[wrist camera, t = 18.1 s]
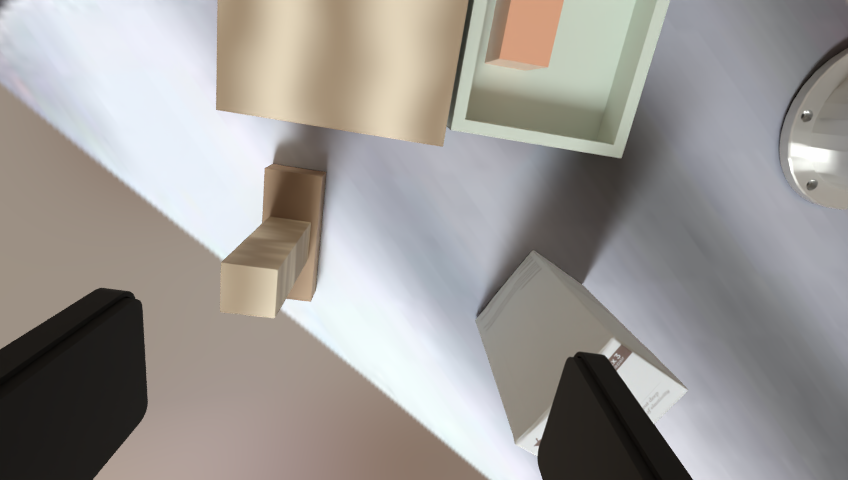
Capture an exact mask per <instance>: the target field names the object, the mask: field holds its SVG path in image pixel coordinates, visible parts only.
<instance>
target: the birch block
mask: <svg viewBox="0 0 848 480" xmlns="http://www.w3.org/2000/svg"><path fill="white" fill-rule="evenodd" d="M468 1H469V0H218V11H217V90H216V110H221V111H227V112H233V113H239V114H245V115H252V116H258V117H264V118H270V119H276V120H282V121H288V122H295V123H301V124H307V125H313V126H319V127H325V128H331V129H337V130H344V131H350V132H356V133H362V134H368V135H374V136H380V137H387V138H393V139H399V140H405V141H411V142H417V143H423V144H429V145H436V146H442V147H443V143H444V137H445V132H446V126H447V120H448V115H449V109H450V103H451V98H452V92H453V86H454V81H455V75H456V69H457V64H458V58H459V52H460V46H461V41H462V35H463V29H464V24H465V18H466V12H467V7H468Z"/></svg>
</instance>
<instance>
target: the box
mask: <svg viewBox="0 0 848 480" xmlns="http://www.w3.org/2000/svg"><path fill="white" fill-rule="evenodd" d="M669 2H670V0H564V2H563V6H562V11H561V15H560V19H559V23H558V28H557V32H556V36H555V40H554V45H553V49H552V53H551V57H550V62H549V66H548V68H541V69H534V70H528V71H524V70H519V69H513V68H508V67H502V66H496V65H491V64H485V63H484V62H485V57H486V52H487V47H488V41H489V36H490V31H491V26H492V21H493V15H494V10H495V5H496V0H469V1H468V7H467V12H466V18H465V24H464V29H463V35H462V41H461V46H460V52H459V58H458V64H457V69H456V75H455V81H454V86H453V92H452V98H451V103H450V109H449V115H448V120H447V127H448V128H449V129H450V130H454V131H460V132H466V133H472V134H478V135H484V136H490V137H496V138H502V139H508V140H514V141H520V142H526V143H532V144H538V145H544V146H550V147H556V148H562V149H568V150H574V151H580V152H586V153H592V154H598V155H604V156H610V157H616V158H622V155H623V152H624V148H625V145H626V142H627V139H628V135H629V132H630V129H631V126H632V122H633V119H634V116H635V113H636V109H637V106H638V103H639V100H640V96H641V93H642V90H643V87H644V83H645V80H646V77H647V74H648V70H649V67H650V64H651V61H652V57H653V54H654V51H655V47H656V44H657V41H658V38H659V34H660V31H661V28H662V25H663V21H664V18H665V15H666V12H667V8H668V5H669Z"/></svg>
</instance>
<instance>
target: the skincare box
mask: <svg viewBox="0 0 848 480" xmlns="http://www.w3.org/2000/svg"><path fill="white" fill-rule="evenodd" d="M475 321H476V324H477V328H478V330H479V333H480V336H481V339H482V342H483V345H484V348H485V351H486V354H487V357H488V360H489V363H490V366H491V369H492V373H493V375H494V378H495V382H496V385H497V388H498V391H499V394H500V397H501V400H502V403H503V406H504V409H505V412H506V415H507V418H508V421H509V424H510V427H511V431H512V433H513V437H514V442H515V444H516V445H517V446H519V447H521V448H523V449H525V450H527V451H528V452H530V453H531V454H533V455H535V456H537V457H538V449H539V445H540V442H541V439H542V435H543V432H544V429H545V426H546V423H547V419H548V416H549V413H550V410H551V407H552V403H553V400H554V397H555V394H556V391H557V387H558V384H559V381H560V378H561V375H562V371H563V368H564V365H565V362H566V360H567V358H568V357H574V355H575V354H576V353H577V352H579V351H580V352H588V353H595V354H602V355H605V356H606V357H607V358H608V360H609V361H610V362H611V364H612V365H613V367H614V368H615V370H616V371H617V372H618V374H619V375H620V377H621V378H622V380H623V381H624V382H625V384H626V385H627V387H628V388H629V389H630V391H631V392H632V394H633V395H634V397H635V398H636V399H637V401H638V402H639V404H640V405H641V407H642V408H643V409H644V411H645V412H646V414H647V415H648V416H649V418H650V419H651V421H652V422H653V424H655V423H656V422H657V421H658V420H659V419H660V418H661V417H662V416H663V415H664V414H665V413H666V412H667V411H668V410H669V409H670V408H671V407H672V406H673V405H674V404H675V403H676V402H677V401H678V400H679V399H680V398H681V397H682V396H683V395H684V394H685V393H686V392H687V391H688V389H687V388H686V387H685V386H684V385H683V384H682V382H681V381H680V380H679V379H678V378H677V377H676V376H675V375H674V374H673V373H672V372H671V371H670V370H669V369H668V368H667V367H665V366H664V365H663V364H662V363H661V362H660V360H659V359H658V358H657V357H656V356H655V355H654V354H653V353H652V352H651V351H650V350H649V349H648V348H647V347H646V346H644V345H643V344H642V343H641V342H640V341H639V340H638V339H637V338H636V337H635V336H634V335H633V334H632V333H631V332H630V331H629V330H628V329H627V328H626V327H625V326H624V325H623V324H622V323H621V322H620V321H619V320H618V319H617V318H616V317H615V316H614V315H613V314H612V313H611V312H610V311H609V310H608V309H607V308H606V307H604V306H603V305H602V304H601V303H600V302H599V301H598V300H597V299H596V298H595V297H594V296H593V295H592V294H591V293H590V292H589V291H588V290H587V289H586V288H585V287H584V286H583V285H582V284H580V283H579V282H578V281H576V280H575V279H574V278H572V277H571V276H569V275H568V274H567V273H565V272H564V271H562V270H561V269H560V268H558V267H557V266H555V265H554V264H553V263H551V262H550V261H548V260H547V259H546V258H544V257H543V256H541V255H540V254H539V253H537V252H536V251H534V250H532V251H531V252H530V254H529V255H528V256H527V257H526V258H525V260H524V261H523V262H522V263H521V264H520V266H519V267H518V268H517V269H516V271H515V272H514V273H513V274H512V275H511V277H510V278H509V279H508V280H507V281H506V283H505V284H504V285H503V286H502V288H501V289H500V290H499V291H498V292H497V294H496V295H495V296H494V297H493V299H492V300H491V301H490V302H489V304H488V305H487V307H486V308H485V309H484V310H483V311H482V313H481V314H480V315H479V316H478V317H477V318H476V320H475Z"/></svg>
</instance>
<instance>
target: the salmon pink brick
mask: <svg viewBox="0 0 848 480" xmlns="http://www.w3.org/2000/svg"><path fill="white" fill-rule="evenodd" d="M563 2H564V0H496V5H495V10H494V15H493V21H492V26H491V31H490V36H489V41H488V47H487V52H486V57H485V62H484V63H485V64H491V65H496V66H502V67H508V68H513V69H519V70H524V71H528V70H534V69H541V68H548V66H549V62H550V57H551V53H552V49H553V45H554V40H555V36H556V32H557V28H558V23H559V19H560V15H561V11H562V6H563Z"/></svg>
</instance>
